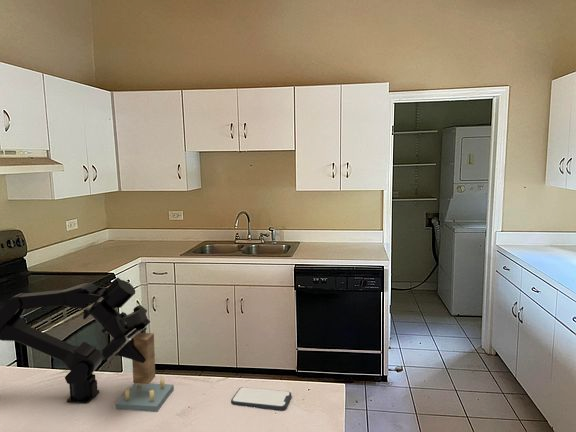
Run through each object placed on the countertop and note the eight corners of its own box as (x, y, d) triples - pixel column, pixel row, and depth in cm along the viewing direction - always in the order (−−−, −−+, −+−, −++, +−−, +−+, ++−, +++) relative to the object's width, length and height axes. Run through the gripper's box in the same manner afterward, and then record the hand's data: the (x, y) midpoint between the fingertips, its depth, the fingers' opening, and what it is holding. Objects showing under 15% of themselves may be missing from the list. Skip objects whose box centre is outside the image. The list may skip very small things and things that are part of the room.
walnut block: (133, 383, 123) (131, 338, 122) (140, 375, 128) (138, 332, 126) (148, 384, 123) (146, 339, 121) (155, 376, 127) (153, 333, 126)
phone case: (229, 406, 123) (285, 412, 119) (229, 401, 123) (284, 407, 119) (240, 391, 131) (292, 396, 127) (240, 386, 131) (292, 391, 127)
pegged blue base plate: (115, 409, 121) (114, 393, 120) (135, 387, 133) (134, 373, 132) (157, 411, 119) (156, 395, 119) (173, 389, 131) (173, 375, 131)
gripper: (110, 310, 114) (152, 353, 114) (142, 290, 132) (179, 327, 132) (84, 338, 116) (125, 380, 116) (119, 314, 134) (155, 351, 134)
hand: (148, 358), depth 125 cm, fingers closed on walnut block, 4 cm apart
